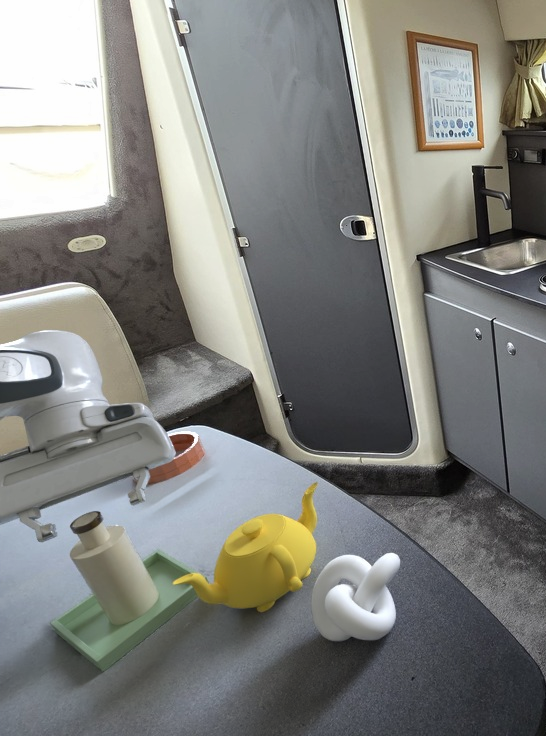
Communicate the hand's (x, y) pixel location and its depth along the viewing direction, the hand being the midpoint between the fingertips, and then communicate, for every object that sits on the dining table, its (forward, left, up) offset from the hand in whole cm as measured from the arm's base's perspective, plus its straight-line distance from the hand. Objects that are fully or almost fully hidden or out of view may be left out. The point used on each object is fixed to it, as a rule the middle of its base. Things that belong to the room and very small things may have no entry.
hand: (95, 520), depth 70 cm
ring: (-27, +18, -15) cm, 35 cm away
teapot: (+19, +10, -15) cm, 26 cm away
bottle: (+3, -1, -14) cm, 15 cm away
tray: (+3, -1, -15) cm, 15 cm away
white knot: (+37, +11, -15) cm, 42 cm away
